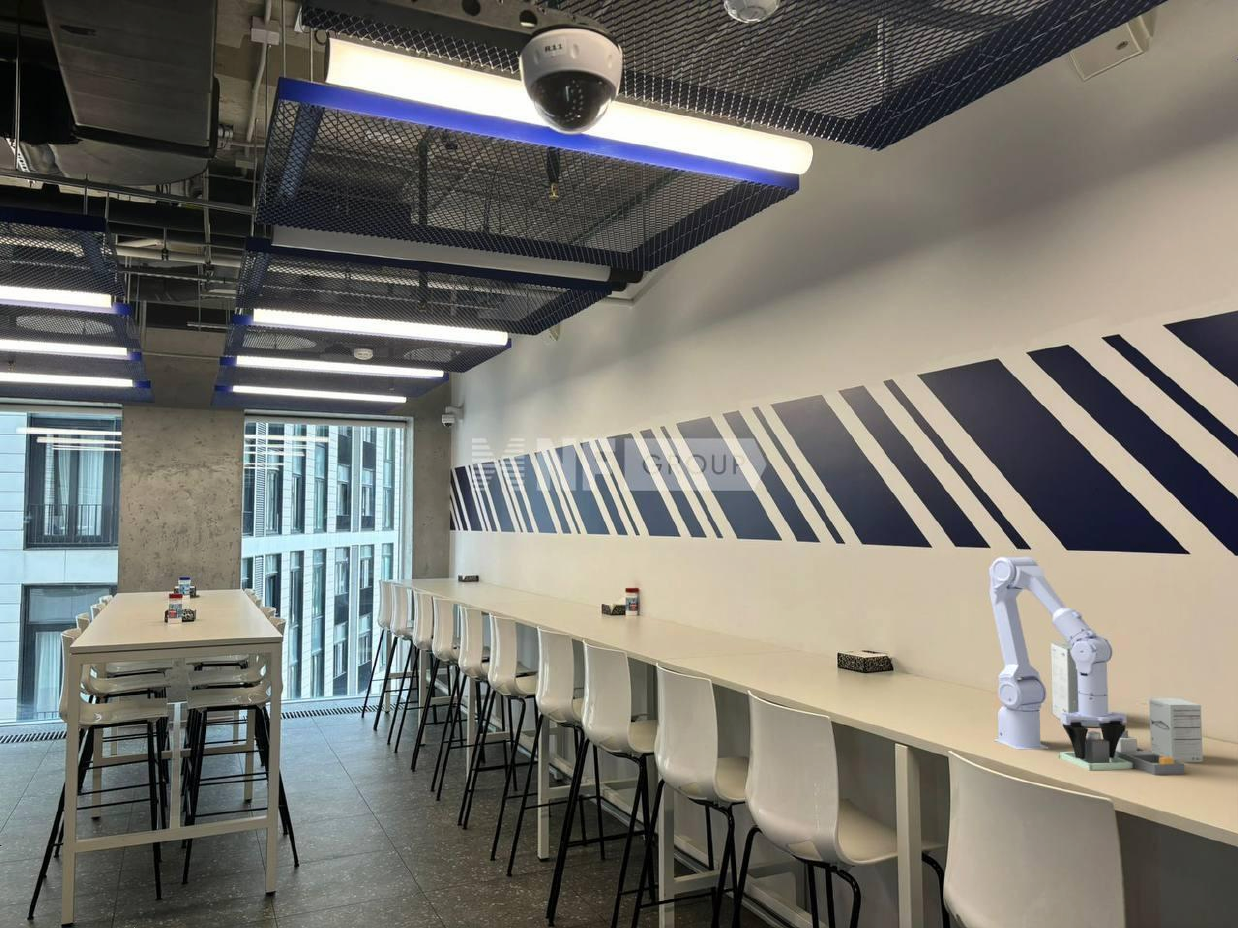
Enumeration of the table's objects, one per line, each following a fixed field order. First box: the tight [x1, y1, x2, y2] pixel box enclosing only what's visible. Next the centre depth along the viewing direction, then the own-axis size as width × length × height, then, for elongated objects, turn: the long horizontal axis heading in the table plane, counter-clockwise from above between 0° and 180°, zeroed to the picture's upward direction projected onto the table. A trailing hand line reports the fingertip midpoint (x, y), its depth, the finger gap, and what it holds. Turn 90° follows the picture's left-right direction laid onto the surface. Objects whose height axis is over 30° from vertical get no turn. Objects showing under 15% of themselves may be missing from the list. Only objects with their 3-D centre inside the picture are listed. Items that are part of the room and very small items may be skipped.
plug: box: [1080, 730, 1110, 764], centre depth 191 cm, size 4×4×6 cm
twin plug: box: [1116, 729, 1138, 752], centre depth 196 cm, size 4×4×6 cm
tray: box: [1058, 751, 1134, 771], centre depth 191 cm, size 10×10×2 cm
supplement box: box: [1148, 697, 1204, 763], centre depth 198 cm, size 7×7×13 cm
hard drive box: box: [1050, 641, 1100, 728], centre depth 235 cm, size 16×8×20 cm, turn 168°
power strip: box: [1114, 747, 1186, 776], centre depth 191 cm, size 18×7×4 cm, turn 9°
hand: (1094, 757), depth 191 cm, fingers open, 6 cm apart
